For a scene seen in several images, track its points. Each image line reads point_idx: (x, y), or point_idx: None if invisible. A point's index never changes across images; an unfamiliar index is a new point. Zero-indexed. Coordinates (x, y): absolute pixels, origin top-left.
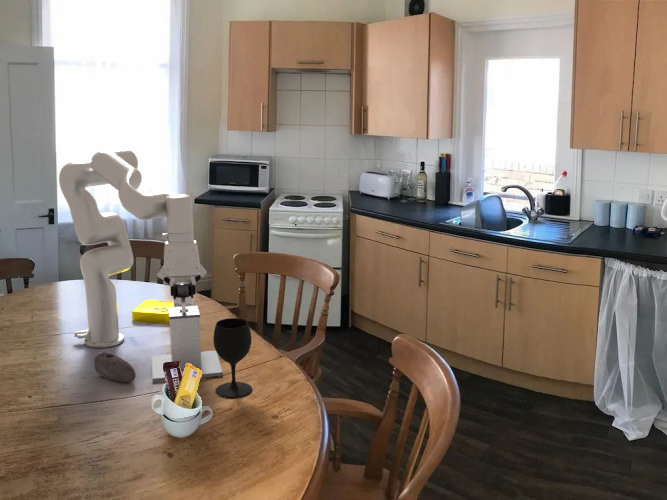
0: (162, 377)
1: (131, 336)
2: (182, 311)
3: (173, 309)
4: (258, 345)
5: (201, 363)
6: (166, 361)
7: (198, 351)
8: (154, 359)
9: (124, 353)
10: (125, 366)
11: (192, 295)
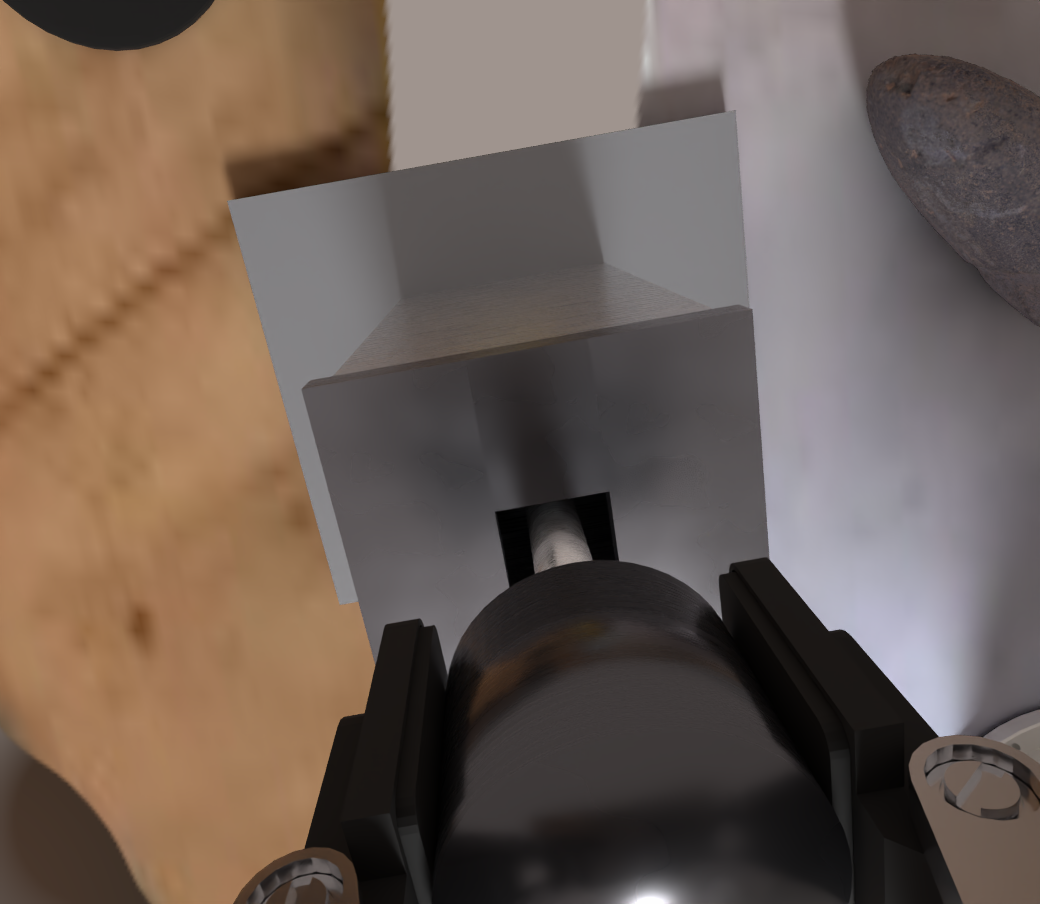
0: (665, 129)
1: None
2: (577, 532)
3: None
4: (88, 719)
5: None
6: None
7: (404, 312)
8: None
9: (926, 623)
10: (991, 81)
11: (394, 642)
